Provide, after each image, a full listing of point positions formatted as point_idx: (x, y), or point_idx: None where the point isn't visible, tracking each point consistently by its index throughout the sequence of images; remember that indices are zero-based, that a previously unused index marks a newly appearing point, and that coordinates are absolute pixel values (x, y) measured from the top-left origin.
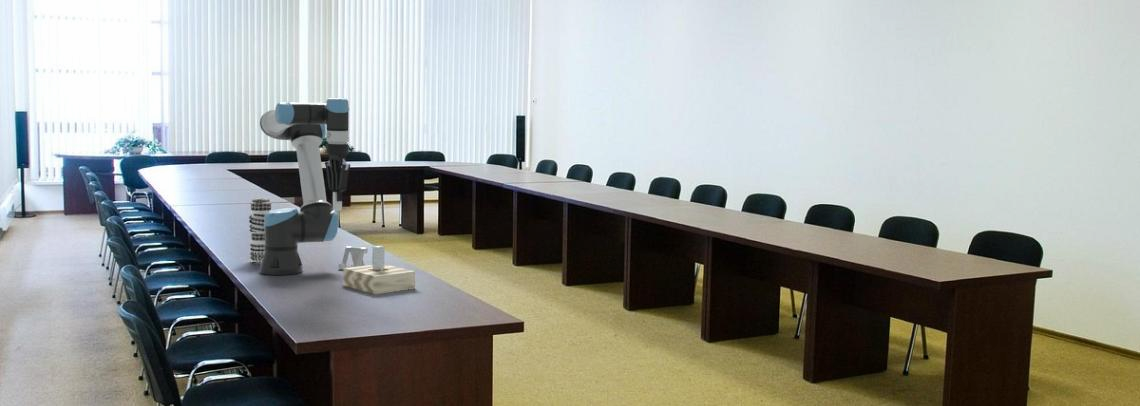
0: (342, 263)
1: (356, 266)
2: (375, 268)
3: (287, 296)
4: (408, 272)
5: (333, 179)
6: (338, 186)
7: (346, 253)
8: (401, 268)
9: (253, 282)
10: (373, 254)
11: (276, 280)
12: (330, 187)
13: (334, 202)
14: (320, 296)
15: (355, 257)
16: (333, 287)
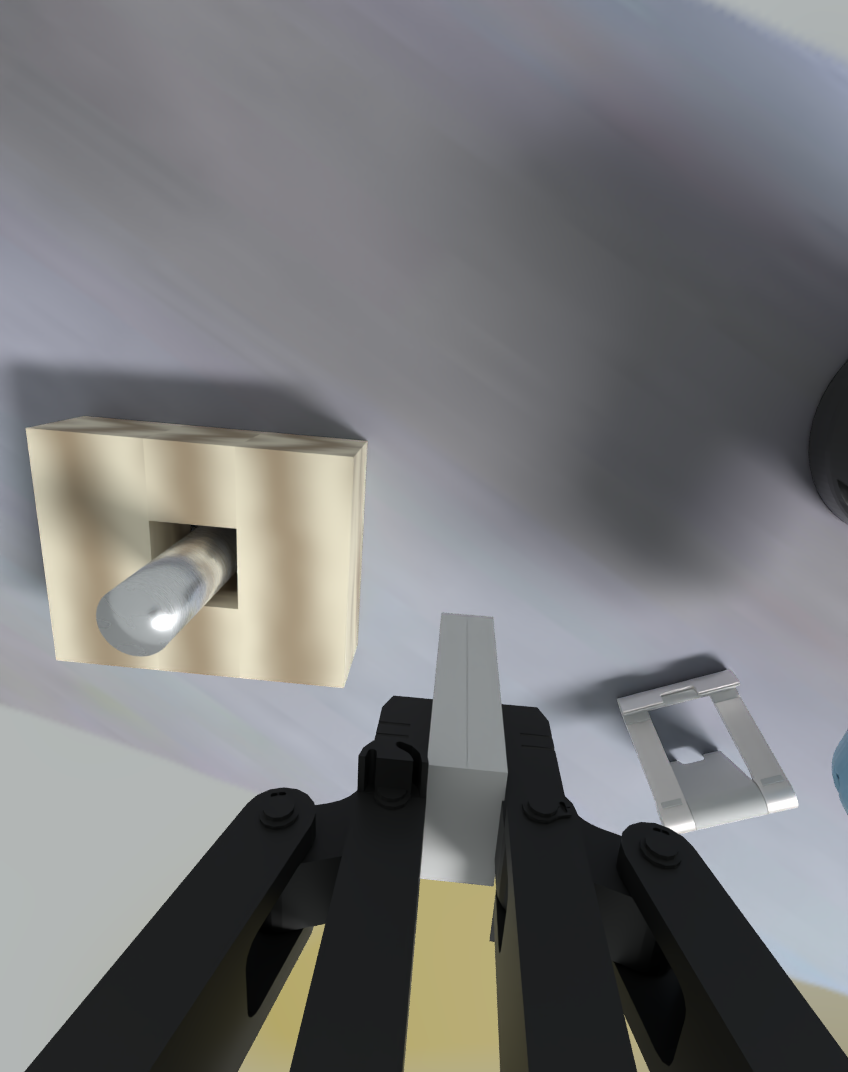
0: (740, 706)
1: (629, 708)
2: (176, 542)
3: (293, 19)
4: (53, 624)
5: (524, 1051)
6: (340, 885)
7: (759, 759)
8: (163, 665)
9: (798, 108)
10: (155, 568)
11: (741, 257)
12: (624, 849)
13: (456, 667)
14: (187, 174)
15: (715, 774)
16: (354, 374)
